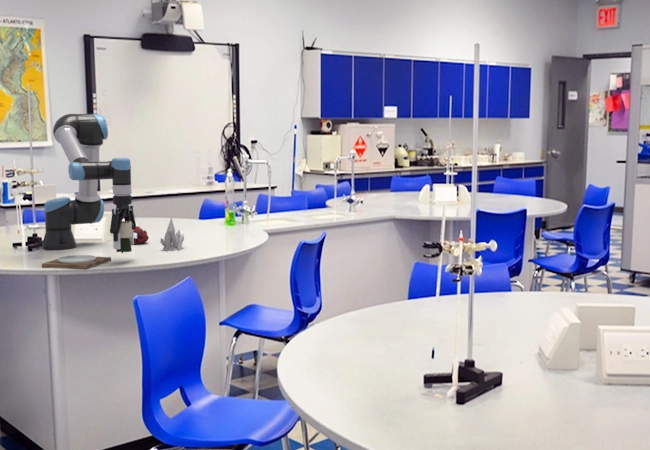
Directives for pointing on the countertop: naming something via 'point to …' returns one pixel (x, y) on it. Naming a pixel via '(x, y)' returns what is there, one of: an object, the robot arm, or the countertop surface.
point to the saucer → (77, 259)
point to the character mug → (125, 236)
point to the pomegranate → (139, 235)
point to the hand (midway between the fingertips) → (123, 246)
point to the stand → (76, 266)
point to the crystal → (172, 239)
